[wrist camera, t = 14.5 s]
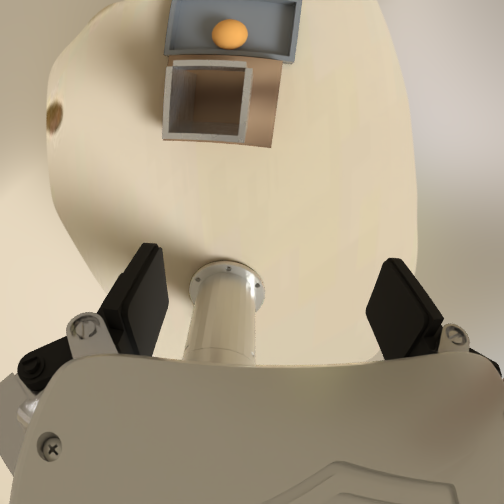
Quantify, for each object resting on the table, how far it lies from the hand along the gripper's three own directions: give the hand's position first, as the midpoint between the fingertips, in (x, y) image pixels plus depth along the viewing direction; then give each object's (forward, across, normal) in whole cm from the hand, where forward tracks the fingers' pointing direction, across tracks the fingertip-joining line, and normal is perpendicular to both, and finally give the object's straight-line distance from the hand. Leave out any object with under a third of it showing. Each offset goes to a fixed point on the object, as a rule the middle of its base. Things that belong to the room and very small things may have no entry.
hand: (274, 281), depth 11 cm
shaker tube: (+21, +5, -7) cm, 23 cm away
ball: (+23, +4, -16) cm, 28 cm away
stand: (+26, +5, -8) cm, 27 cm away
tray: (+25, +4, -18) cm, 31 cm away
